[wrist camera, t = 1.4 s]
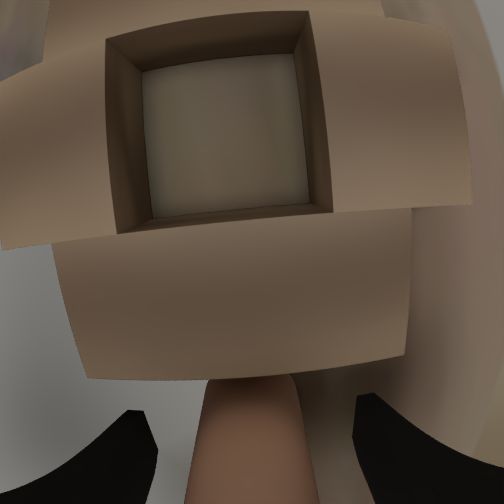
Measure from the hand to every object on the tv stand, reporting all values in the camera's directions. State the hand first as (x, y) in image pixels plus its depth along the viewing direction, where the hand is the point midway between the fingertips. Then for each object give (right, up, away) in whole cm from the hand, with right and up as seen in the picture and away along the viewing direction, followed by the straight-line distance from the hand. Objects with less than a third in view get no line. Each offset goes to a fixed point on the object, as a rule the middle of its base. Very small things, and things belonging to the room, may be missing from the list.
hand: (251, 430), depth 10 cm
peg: (0, 0, +2) cm, 2 cm away
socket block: (-1, +10, 0) cm, 10 cm away
